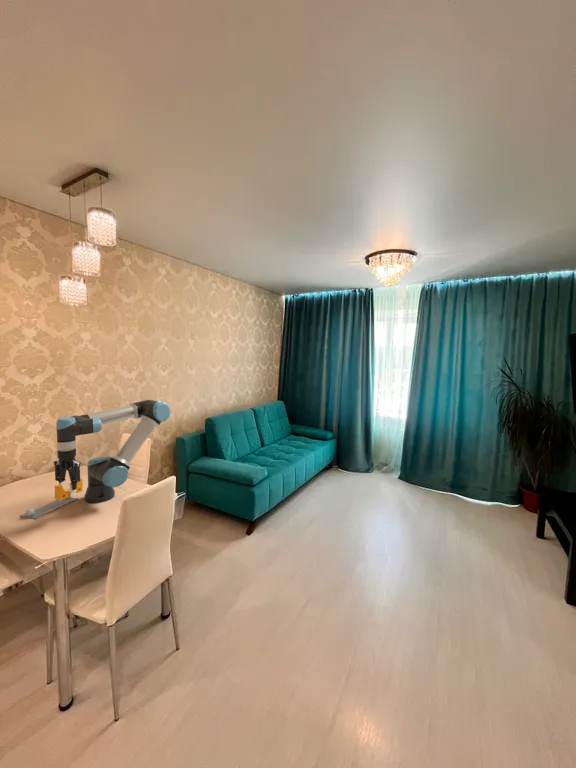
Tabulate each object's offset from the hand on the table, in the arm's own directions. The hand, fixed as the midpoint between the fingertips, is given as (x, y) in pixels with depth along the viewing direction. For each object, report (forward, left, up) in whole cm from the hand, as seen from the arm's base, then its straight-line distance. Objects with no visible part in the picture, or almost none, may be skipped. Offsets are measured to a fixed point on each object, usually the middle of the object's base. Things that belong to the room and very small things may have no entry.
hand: (68, 495), depth 159 cm
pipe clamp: (0, -1, -1) cm, 1 cm away
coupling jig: (+19, -7, -12) cm, 23 cm away
